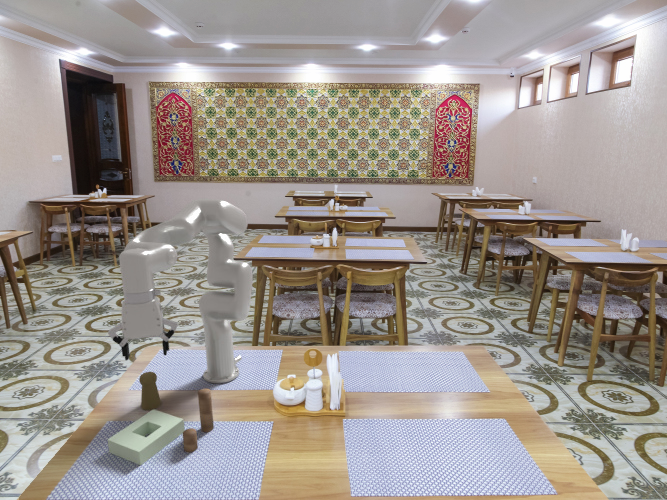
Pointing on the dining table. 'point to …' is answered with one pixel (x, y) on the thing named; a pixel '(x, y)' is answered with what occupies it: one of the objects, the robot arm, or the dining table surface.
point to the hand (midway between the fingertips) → (146, 355)
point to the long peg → (205, 410)
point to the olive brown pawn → (149, 391)
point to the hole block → (142, 448)
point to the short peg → (190, 440)
